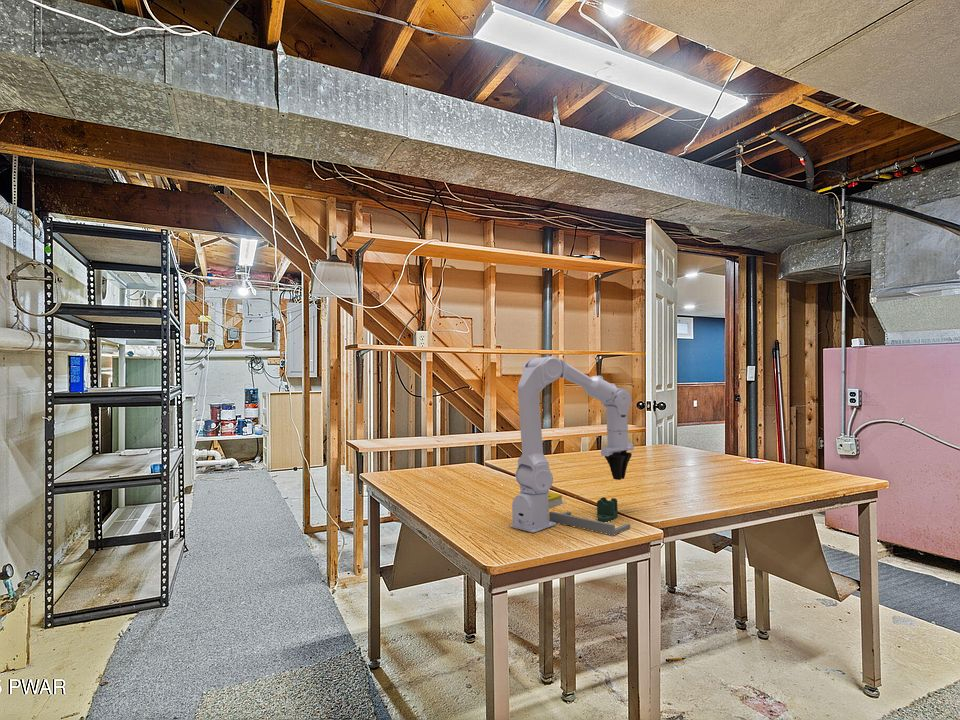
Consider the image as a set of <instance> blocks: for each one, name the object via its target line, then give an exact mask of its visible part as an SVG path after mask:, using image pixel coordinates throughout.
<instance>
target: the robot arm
mask: <svg viewBox="0 0 960 720" xmlns="http://www.w3.org/2000/svg"><path fill="white" fill-rule="evenodd" d="M560 378H562V379H564V380H567V381H568V382H570V383H572V384H575V385H577V386H579V387H582V388H583V390H584V393H585V394H586V395H587V396H590V397H591V398H593V399H595V400H597V401H600V402H601V403H602V405H603V406H604V407H605V408H606V409H605V410H606V436H607V438H606V442H607V443H606V444H607V445H606V446H604V447H602V448H601V450H600V453H601V457H604V458H605V459H606V461H607V463H608V465H609V468H610V473H611V476H612V478H613V480H616V481H617V480H618V481H621V480H624V479H625V477H626V472H627V468H628V465H629V462H630V460H631V458H632V457H633V456H632V452H630V451H634V450H635V449H634V448H635V445H634V443H630V442H629V425H628V424H629V423H628V418H629V417H628V414H629V412H630V411H629V410H630V406H631V404H632V401H633V400H632V399H633V398H632V397H631V395H630V392H629V391H628V390H627V389H625V388H621V387H619V388H618V387H617V385H616V383H613V382H612V383H610V382H609V381H606V380H605V379H604V377H603V376H602V375H593V376H589V375H587V374H586V373H583V372H582V371H581V370H578V369H577V368H575V367H573V366H572V365H570V364H569V363H567V362H566V361H565V360H563V359H560V358H558V357H556V356H554V355H549V356H546V357H544V356H543V357H532V358H531V359H529V360H527V362H526V363H524V364H523V366H522V374H521V376H520V380H519V382H518V385H517V399H518V411H519V412H518V413H519V425H520V426H519V427H520V429H519V430H520V441H521V453H522V454H521V456H519V457H518V459H517V468H516V470H515V480H516V482H517V483H518V485H519V490H520V491H519V494H518V495H515V497H514V498H513V500H512V503H511V507H512V508H511V509H512V510H511V511H512V512H511V513H512V514H511V515H512V516H511V517H512V524H510V525H509V527H511V528H514V529H517V530H521V531H525V532H529V533H533V534H534V533H537V532H540V531H543V530H545V529H548V528H551V527H554V526H556V525H557V523H555V522H550V521H549V512H550V511H549V510H550V509H549V507H548V493H550V489H551V488H552V486H553V482H554V476H553V473H552V472H551V469H550V465H549V461H548V459H547V457H546V456H545V455H544V446H543V436H542V435H543V432H542V419H541V406H540V405H541V404H540V393H541V392H542V391H543V390H544V388H546V387H547V386H548V385H550V384H551V383H553V382H555V381H557V380H558V379H560Z"/></svg>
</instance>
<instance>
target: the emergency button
mask: <svg viewBox="0 0 960 720" xmlns="http://www.w3.org/2000/svg"><path fill="white" fill-rule="evenodd" d="M564 503H565V504H567V501H564V500H563V497H562V494H559V493H553V492H549V493H548V507H549V508H550V509H552V507H553V508H555V506H556V507H558V505H559V506H562V505H564ZM561 504H562V505H561Z"/></svg>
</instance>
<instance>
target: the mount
mask: <svg viewBox="0 0 960 720" xmlns="http://www.w3.org/2000/svg"><path fill="white" fill-rule="evenodd" d="M596 511H597V513H596V516H597V517H596V518H598V519H597V521H600V522H607V523H609V522H608V521H610V522H612V521H611V520H614V519H615V520H616V519H617V518H619V517H618V516H619V514H618V500H617V498H615V497H611V499H610V500H608V499H607V497H606V496H605V497H604V496H603V497H601V498H600V499H598V500H597V502H596ZM615 520H614V521H615Z"/></svg>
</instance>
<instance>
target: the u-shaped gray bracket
mask: <svg viewBox="0 0 960 720" xmlns="http://www.w3.org/2000/svg"><path fill="white" fill-rule="evenodd" d="M549 521H550V522H555V523H556V524H558V523H560V524H559V525H562V524H565V525H564V526H567V525H570V526H569V527H571V526H575V527H574V528H576V527H580V528H585V529H589V530H593V531H597V532H602V533H607V534H610V535H614V534H616V533H619V532H621V531H623V532H625V531H627V529H628V530H629V529H631V523H625V524H622V525H620V526H618V527H616V525H615V524H613V523H610V522H607V523H605V522H600V521H598V520H594V519H590V518H584V517H580V516H575V515H572V512H571V511H565V512H562V513H561V512H556V511H549ZM580 528H579V529H580ZM589 530H588V531H589ZM624 530H625V531H624ZM593 531H592V532H593ZM597 532H596V533H597ZM602 533H601V534H602ZM621 533H622V532H621ZM619 534H620V533H619ZM610 535H609V536H610ZM616 535H617V534H616ZM614 536H615V535H614Z"/></svg>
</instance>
